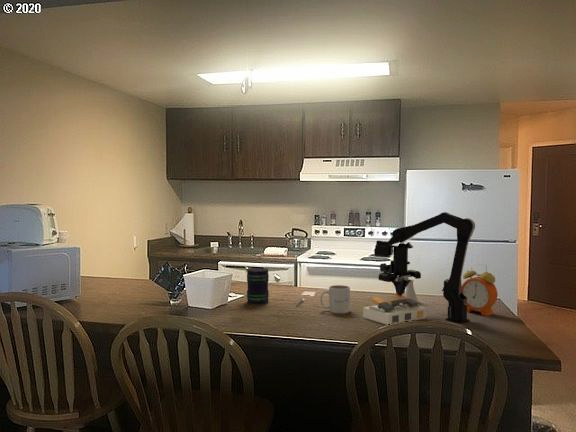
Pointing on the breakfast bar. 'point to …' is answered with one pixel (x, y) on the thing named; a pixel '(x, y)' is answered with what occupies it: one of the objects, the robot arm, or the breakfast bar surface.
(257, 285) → the storage jar
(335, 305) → the mug
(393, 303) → the block
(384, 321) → the switch box
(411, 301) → the rocker
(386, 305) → the block
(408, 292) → the flask
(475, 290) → the alarm clock
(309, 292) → the spatula
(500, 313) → the breakfast bar surface
